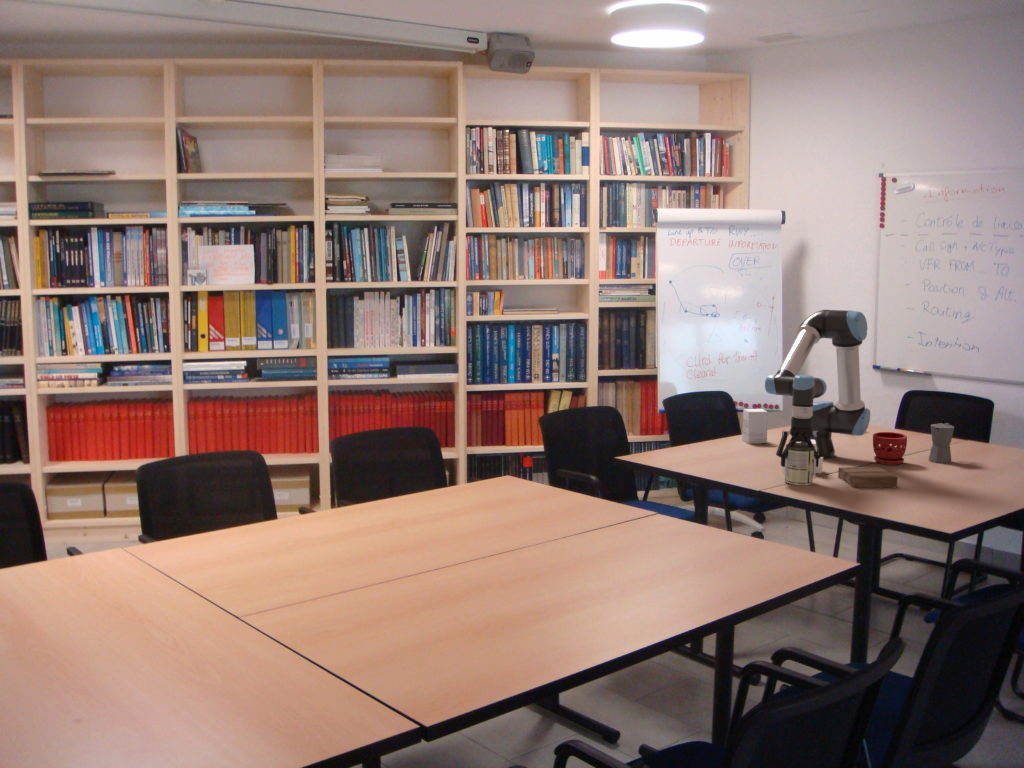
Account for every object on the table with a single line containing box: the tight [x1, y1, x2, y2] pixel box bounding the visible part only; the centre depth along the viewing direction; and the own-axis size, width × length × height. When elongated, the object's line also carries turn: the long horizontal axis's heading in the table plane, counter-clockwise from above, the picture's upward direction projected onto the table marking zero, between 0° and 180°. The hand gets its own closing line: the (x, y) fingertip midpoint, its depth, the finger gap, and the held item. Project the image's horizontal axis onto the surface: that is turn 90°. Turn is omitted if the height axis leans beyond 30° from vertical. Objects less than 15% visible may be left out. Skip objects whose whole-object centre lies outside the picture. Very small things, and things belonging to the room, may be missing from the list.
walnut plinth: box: [837, 466, 899, 488], centre depth 353 cm, size 16×16×4 cm
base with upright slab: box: [810, 439, 824, 474], centre depth 370 cm, size 9×9×12 cm
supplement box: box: [741, 408, 769, 445], centre depth 429 cm, size 9×9×15 cm
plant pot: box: [872, 431, 908, 466], centre depth 387 cm, size 13×13×12 cm
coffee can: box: [784, 442, 815, 486], centre depth 351 cm, size 10×10×14 cm
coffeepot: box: [928, 418, 955, 464], centre depth 391 cm, size 15×9×18 cm, turn 137°
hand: (798, 475), depth 352 cm, fingers closed on coffee can, 10 cm apart
